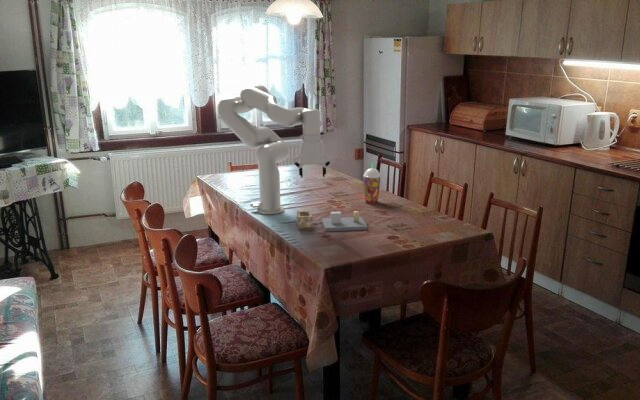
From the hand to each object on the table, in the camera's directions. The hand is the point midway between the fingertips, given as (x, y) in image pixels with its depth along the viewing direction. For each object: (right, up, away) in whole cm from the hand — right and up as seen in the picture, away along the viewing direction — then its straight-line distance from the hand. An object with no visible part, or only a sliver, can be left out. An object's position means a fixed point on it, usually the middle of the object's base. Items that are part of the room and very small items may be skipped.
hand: (312, 176), depth 236 cm
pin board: (+13, -21, -3) cm, 25 cm away
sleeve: (-3, -22, -5) cm, 23 cm away
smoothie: (+29, -12, +30) cm, 43 cm away
